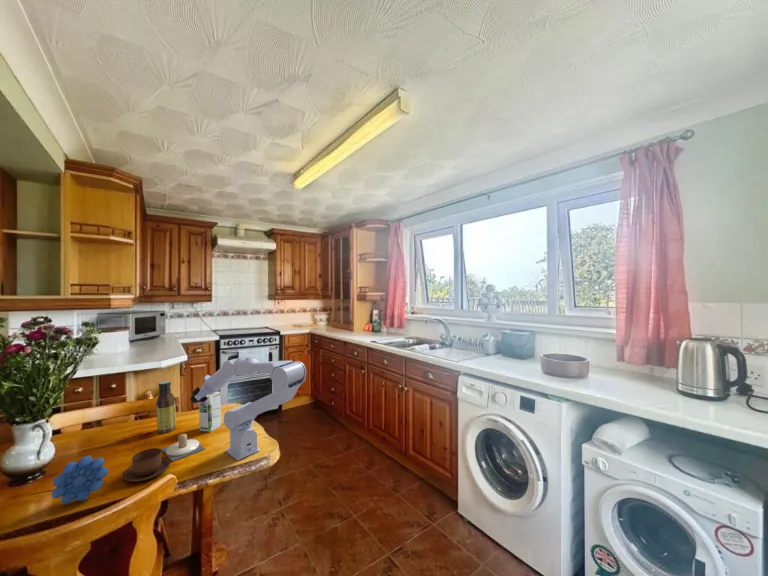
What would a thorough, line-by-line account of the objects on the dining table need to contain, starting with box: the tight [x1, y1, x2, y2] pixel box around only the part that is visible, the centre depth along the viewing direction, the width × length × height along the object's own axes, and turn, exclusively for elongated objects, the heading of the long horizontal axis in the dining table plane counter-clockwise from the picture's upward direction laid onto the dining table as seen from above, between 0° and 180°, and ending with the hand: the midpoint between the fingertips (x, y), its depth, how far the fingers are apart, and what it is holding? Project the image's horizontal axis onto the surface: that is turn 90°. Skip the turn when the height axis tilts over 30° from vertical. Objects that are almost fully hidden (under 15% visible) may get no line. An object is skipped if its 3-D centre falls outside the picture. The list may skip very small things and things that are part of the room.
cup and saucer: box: [122, 447, 172, 483], centre depth 99 cm, size 12×12×6 cm
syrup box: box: [198, 391, 222, 433], centre depth 129 cm, size 6×6×14 cm
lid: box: [165, 433, 200, 456], centre depth 113 cm, size 10×10×5 cm
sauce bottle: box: [155, 380, 177, 434], centre depth 128 cm, size 6×6×20 cm
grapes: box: [51, 455, 109, 505], centre depth 88 cm, size 12×7×12 cm, turn 119°
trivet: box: [160, 437, 206, 463], centre depth 113 cm, size 12×10×1 cm
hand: (200, 394), depth 121 cm, fingers open, 7 cm apart
